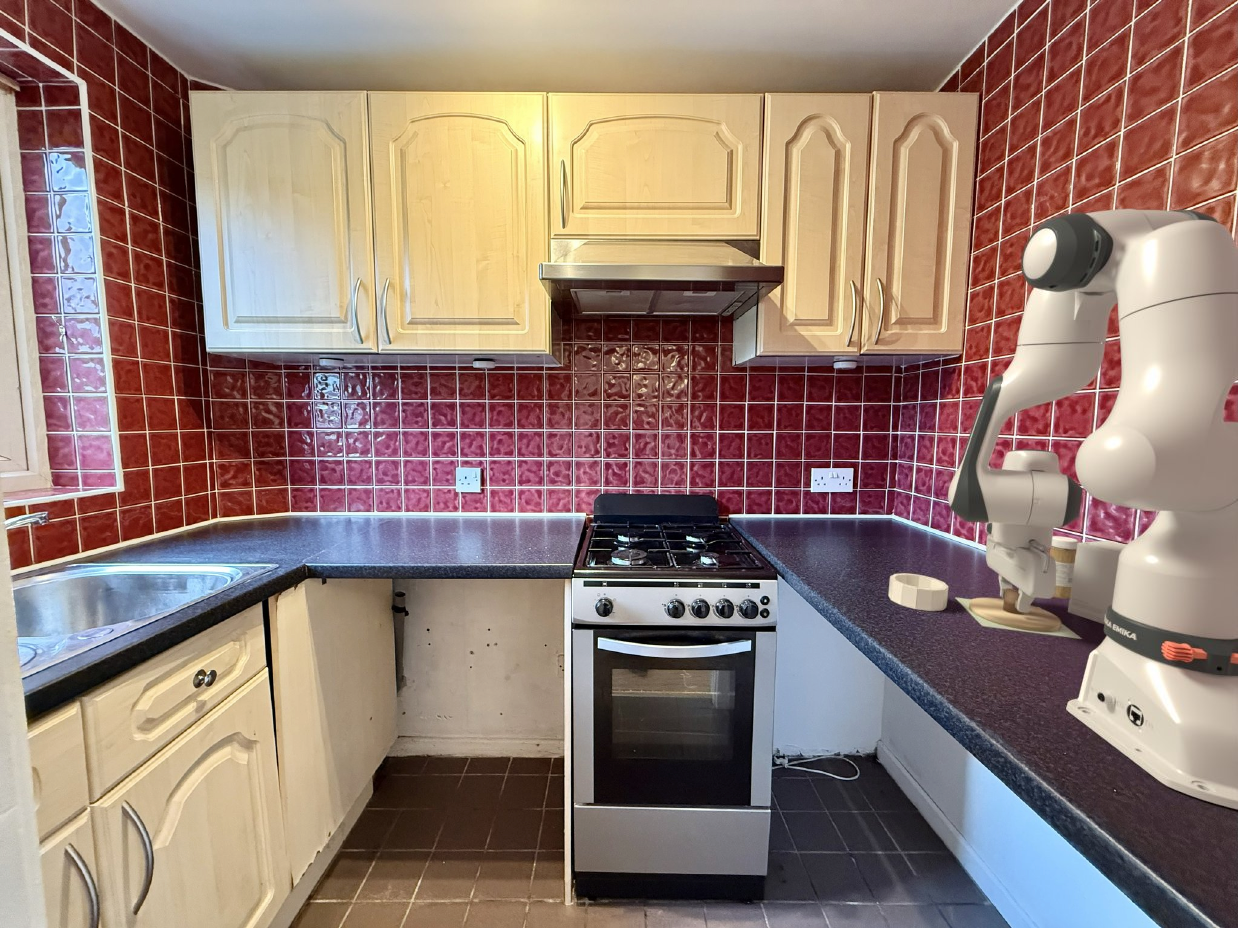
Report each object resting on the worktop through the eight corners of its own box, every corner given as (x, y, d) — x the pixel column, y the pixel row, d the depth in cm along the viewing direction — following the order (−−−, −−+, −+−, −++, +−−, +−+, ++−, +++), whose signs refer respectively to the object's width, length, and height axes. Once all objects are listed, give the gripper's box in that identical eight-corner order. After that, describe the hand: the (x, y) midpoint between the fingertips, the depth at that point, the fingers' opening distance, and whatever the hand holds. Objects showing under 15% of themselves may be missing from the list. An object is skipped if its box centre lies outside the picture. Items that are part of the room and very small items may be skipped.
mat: (1081, 642, 89) (1082, 638, 89) (981, 629, 93) (982, 625, 93) (1039, 611, 103) (1039, 607, 103) (954, 601, 108) (955, 597, 108)
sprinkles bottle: (1054, 593, 114) (1061, 535, 112) (1076, 601, 109) (1084, 540, 108) (1037, 595, 113) (1045, 535, 111) (1059, 602, 108) (1067, 541, 107)
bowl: (952, 617, 99) (954, 592, 98) (894, 610, 102) (896, 586, 101) (936, 599, 108) (938, 576, 108) (884, 593, 111) (886, 571, 111)
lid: (1077, 637, 90) (1080, 609, 89) (984, 625, 94) (987, 599, 93) (1037, 607, 103) (1040, 583, 102) (958, 598, 107) (960, 575, 106)
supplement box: (1121, 634, 93) (1133, 554, 92) (1065, 615, 102) (1075, 541, 100) (1152, 628, 96) (1163, 551, 94) (1095, 610, 105) (1104, 539, 103)
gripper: (1072, 550, 86) (1062, 628, 87) (1017, 524, 105) (1010, 589, 107) (1028, 546, 88) (1018, 623, 89) (982, 521, 107) (975, 585, 109)
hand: (1013, 604), depth 98 cm, fingers open, 5 cm apart
